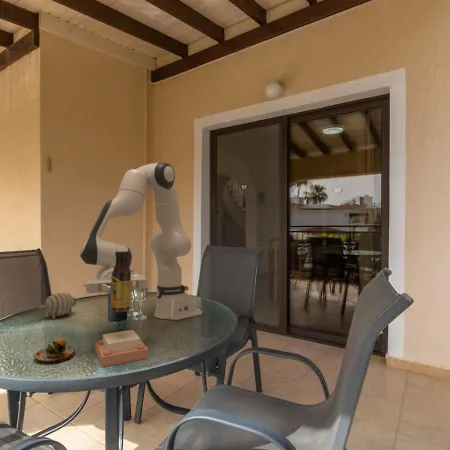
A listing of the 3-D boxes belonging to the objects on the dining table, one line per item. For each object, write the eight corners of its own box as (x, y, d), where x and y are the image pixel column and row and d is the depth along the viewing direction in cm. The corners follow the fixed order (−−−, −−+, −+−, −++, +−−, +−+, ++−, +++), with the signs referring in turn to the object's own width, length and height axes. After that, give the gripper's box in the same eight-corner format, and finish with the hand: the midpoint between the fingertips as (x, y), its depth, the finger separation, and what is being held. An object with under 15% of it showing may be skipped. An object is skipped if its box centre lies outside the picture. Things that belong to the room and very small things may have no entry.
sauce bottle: (110, 309, 110) (110, 250, 110) (129, 307, 112) (130, 249, 112) (111, 314, 104) (112, 251, 104) (131, 312, 106) (132, 251, 106)
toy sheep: (82, 314, 155) (82, 291, 155) (47, 323, 140) (47, 297, 140) (68, 311, 160) (68, 288, 160) (33, 319, 146) (33, 294, 146)
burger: (32, 355, 107) (32, 333, 107) (71, 348, 114) (71, 326, 114) (36, 369, 97) (36, 344, 97) (78, 360, 104) (78, 336, 104)
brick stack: (136, 344, 117) (137, 327, 117) (148, 358, 105) (148, 339, 105) (95, 351, 111) (95, 333, 111) (102, 367, 98) (102, 347, 98)
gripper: (82, 274, 114) (87, 281, 102) (141, 271, 124) (151, 276, 112) (82, 292, 114) (87, 301, 102) (140, 287, 124) (151, 294, 112)
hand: (121, 288), depth 107 cm, fingers closed on sauce bottle, 6 cm apart
